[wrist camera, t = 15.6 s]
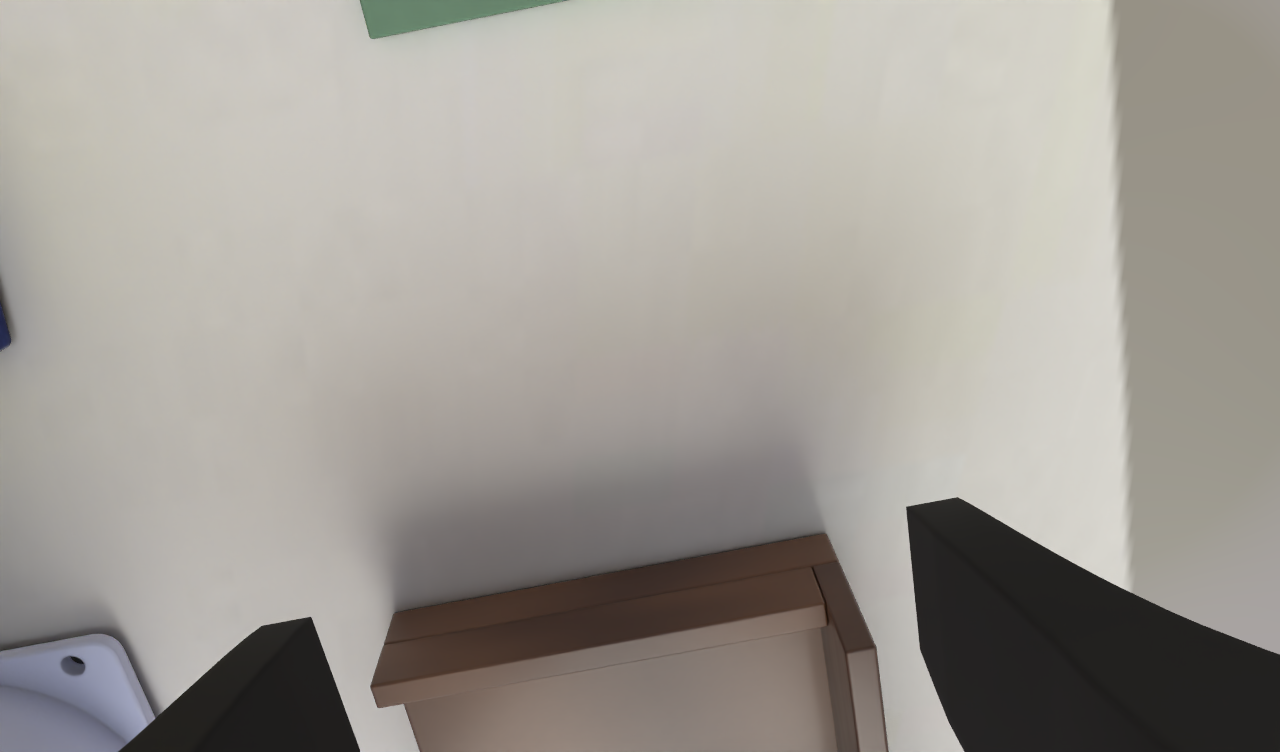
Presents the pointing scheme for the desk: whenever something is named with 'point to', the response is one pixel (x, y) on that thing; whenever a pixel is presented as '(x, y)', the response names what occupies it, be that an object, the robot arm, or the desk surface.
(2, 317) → the supplement box
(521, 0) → the green mat
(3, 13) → the desk surface
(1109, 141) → the desk surface
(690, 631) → the tray
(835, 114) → the desk surface
